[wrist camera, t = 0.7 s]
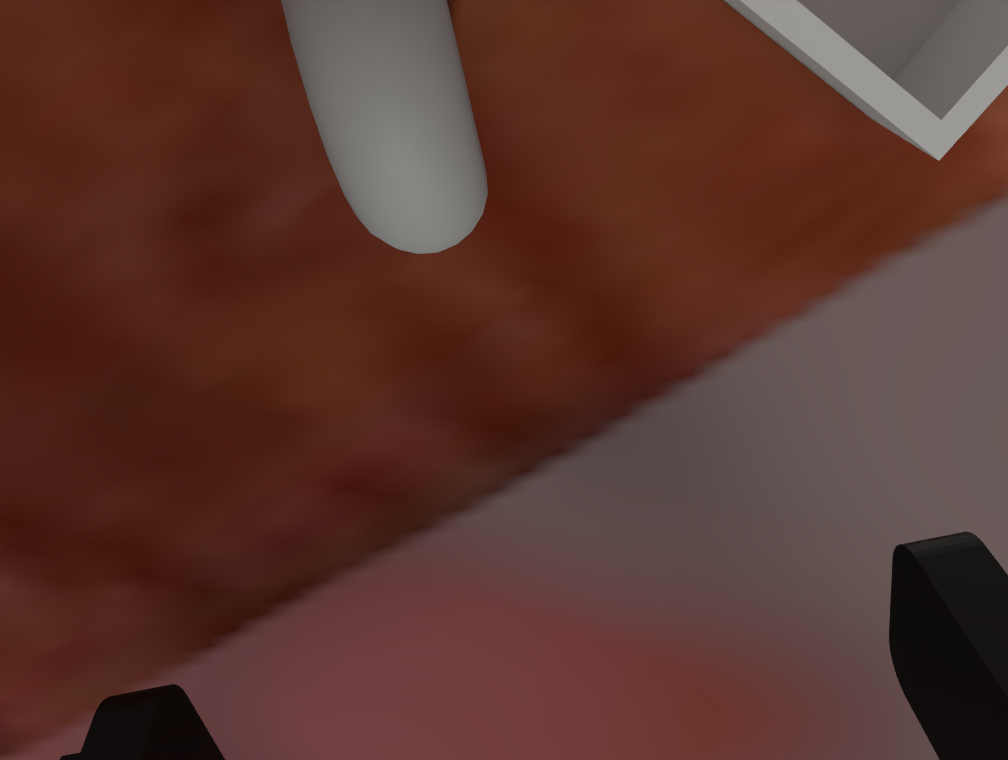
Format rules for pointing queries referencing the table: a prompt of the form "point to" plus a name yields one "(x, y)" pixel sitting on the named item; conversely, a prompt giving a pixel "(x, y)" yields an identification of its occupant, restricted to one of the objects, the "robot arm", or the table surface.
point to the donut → (393, 115)
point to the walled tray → (898, 57)
